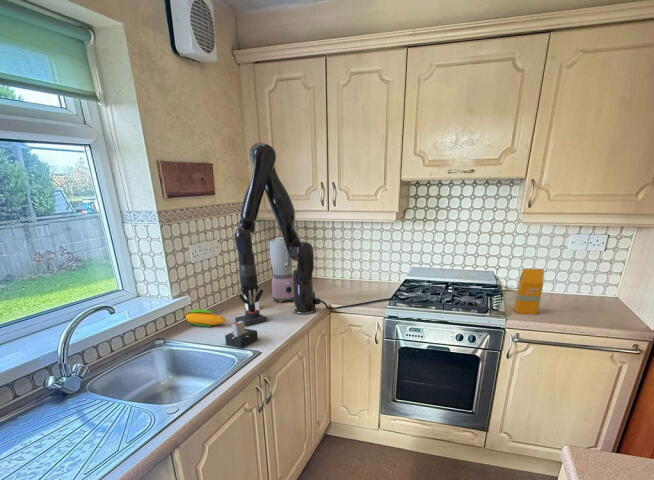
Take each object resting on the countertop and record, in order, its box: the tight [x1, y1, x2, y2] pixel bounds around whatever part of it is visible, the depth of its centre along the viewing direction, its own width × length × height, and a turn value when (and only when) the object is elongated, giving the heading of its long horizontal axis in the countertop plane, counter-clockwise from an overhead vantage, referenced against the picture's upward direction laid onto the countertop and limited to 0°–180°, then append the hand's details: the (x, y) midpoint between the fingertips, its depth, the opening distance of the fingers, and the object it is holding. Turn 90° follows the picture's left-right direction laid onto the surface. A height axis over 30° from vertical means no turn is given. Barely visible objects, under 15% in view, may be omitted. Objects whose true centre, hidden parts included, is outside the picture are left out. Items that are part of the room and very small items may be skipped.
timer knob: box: [232, 321, 246, 337], centre depth 159 cm, size 5×2×5 cm, turn 152°
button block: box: [234, 310, 267, 328], centre depth 186 cm, size 11×9×4 cm
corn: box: [185, 308, 227, 328], centre depth 181 cm, size 7×8×20 cm
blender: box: [269, 236, 294, 304], centre depth 211 cm, size 16×12×32 cm
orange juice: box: [513, 268, 544, 315], centre depth 190 cm, size 8×9×20 cm
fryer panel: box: [224, 328, 259, 349], centre depth 162 cm, size 11×9×4 cm
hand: (252, 311), depth 187 cm, fingers closed
